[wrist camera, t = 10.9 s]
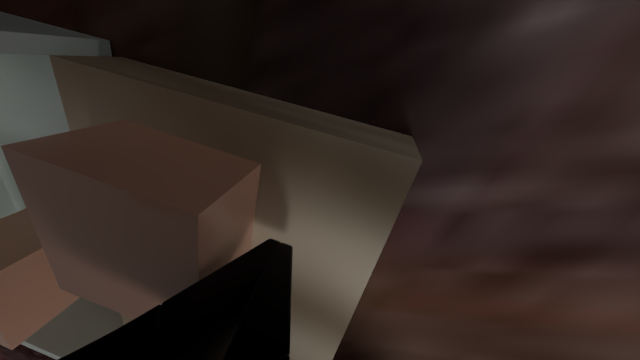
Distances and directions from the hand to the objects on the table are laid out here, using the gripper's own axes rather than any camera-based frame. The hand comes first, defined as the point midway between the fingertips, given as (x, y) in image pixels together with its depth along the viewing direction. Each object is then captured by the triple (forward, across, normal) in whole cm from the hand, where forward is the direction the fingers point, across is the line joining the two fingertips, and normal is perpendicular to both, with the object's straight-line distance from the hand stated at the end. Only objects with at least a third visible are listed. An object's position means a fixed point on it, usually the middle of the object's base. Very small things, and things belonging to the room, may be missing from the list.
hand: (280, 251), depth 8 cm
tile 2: (0, +11, +7) cm, 14 cm away
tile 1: (+1, +4, 0) cm, 4 cm away
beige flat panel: (+3, +3, +4) cm, 6 cm away
